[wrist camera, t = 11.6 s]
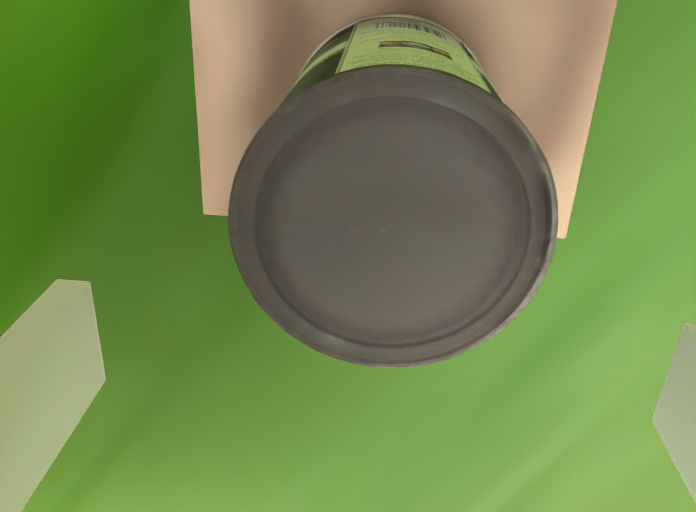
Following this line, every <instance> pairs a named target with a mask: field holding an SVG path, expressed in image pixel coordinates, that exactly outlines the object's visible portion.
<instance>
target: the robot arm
mask: <svg viewBox="0 0 696 512" xmlns="http://www.w3.org/2000/svg"><path fill="white" fill-rule="evenodd" d="M105 381H106V376H105V370H104V363H103V357H102V351H101V345H100V339H99V332H98V326H97V320H96V314H95V308H94V301H93V295H92V289H91V283H90V281H77V280H63V279H56V280H55V282H54V283H53V284H52V285H51V286H50V287H49V288H48V289H47V290H46V291H45V292H44V293H43V294H42V295H41V296H40V297H39V298H38V299H37V300H36V301H35V302H34V303H33V304H32V305H31V306H30V307H29V308H28V309H27V310H26V311H25V312H24V313H23V314H22V315H21V316H20V317H19V318H18V319H17V321H16V322H15V323H14V324H13V325H12V326H11V327H10V328H9V329H8V330H7V331H6V332H5V333H4V334H3V335H2V336H1V337H0V512H21V511H22V510H23V508H24V507H25V505H26V504H27V502H28V501H29V499H30V497H31V496H32V494H33V493H34V491H35V490H36V488H37V487H38V485H39V483H40V482H41V480H42V479H43V477H44V476H45V474H46V473H47V471H48V469H49V468H50V466H51V465H52V463H53V462H54V460H55V459H56V457H57V456H58V454H59V452H60V451H61V449H62V448H63V446H64V445H65V443H66V442H67V440H68V438H69V437H70V435H71V434H72V432H73V431H74V429H75V428H76V426H77V424H78V423H79V421H80V420H81V418H82V417H83V415H84V414H85V412H86V410H87V409H88V407H89V406H90V404H91V403H92V401H93V400H94V398H95V396H96V395H97V393H98V392H99V390H100V389H101V387H102V386H103V384H104V382H105ZM651 421H652V423H653V424H654V426H655V428H656V430H657V432H658V434H659V436H660V438H661V440H662V441H663V443H664V445H665V447H666V449H667V451H668V453H669V455H670V457H671V458H672V460H673V462H674V464H675V466H676V468H677V470H678V472H679V473H680V475H681V477H682V479H683V481H684V483H685V485H686V487H687V489H688V490H689V492H690V494H691V496H692V498H693V500H694V502H695V504H696V323H687V322H684V324H683V327H682V330H681V333H680V336H679V339H678V342H677V345H676V348H675V351H674V354H673V357H672V360H671V363H670V366H669V369H668V372H667V375H666V378H665V381H664V384H663V387H662V390H661V393H660V396H659V399H658V402H657V405H656V408H655V411H654V414H653V417H652V420H651Z"/></svg>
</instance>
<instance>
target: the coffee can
mask: <svg viewBox="0 0 696 512" xmlns="http://www.w3.org/2000/svg"><path fill="white" fill-rule="evenodd" d="M228 226H229V236H230V242H231V247H232V250H233V254H234V258H235V261H236V263H237V266H238V268H239V271H240V273H241V275H242V278H243V280H244V282H245V284H246V286H247V287H248V289H249V290H250V292H251V294H252V296H253V297H254V299H255V300H256V302H257V303H258V304H259V305H260V307H261V308H262V309H263V310H264V311H265V313H266V314H267V315H268V316H269V317H270V318H271V319H272V320H273V321H274V322H275V323H276V324H277V325H278V326H279V327H281V328H282V329H283V330H284V331H285V332H287V333H288V334H289V335H291V336H292V337H294V338H296V339H297V340H299V341H300V342H302V343H304V344H305V345H307V346H308V347H310V348H312V349H314V350H316V351H318V352H320V353H323V354H325V355H328V356H330V357H333V358H336V359H339V360H343V361H347V362H350V363H354V364H359V365H364V366H371V367H384V368H403V367H411V366H420V365H426V364H432V363H436V362H439V361H443V360H446V359H450V358H452V357H455V356H457V355H460V354H463V353H465V352H467V351H469V350H471V349H473V348H475V347H477V346H479V345H481V344H482V343H484V342H486V341H487V340H489V339H490V338H492V337H493V336H495V335H496V334H497V333H499V332H500V331H501V330H502V329H504V328H505V327H506V326H507V325H509V324H510V323H511V322H512V321H513V320H514V319H515V318H516V316H517V315H518V314H519V313H520V312H521V311H522V310H523V309H524V308H525V307H526V305H527V304H528V303H529V301H530V300H531V299H532V298H533V296H534V295H535V293H536V292H537V290H538V288H539V286H540V284H541V282H542V280H543V278H544V276H545V275H546V272H547V270H548V267H549V265H550V262H551V260H552V256H553V253H554V249H555V244H556V238H557V231H558V201H557V193H556V187H555V183H554V179H553V175H552V172H551V169H550V166H549V164H548V161H547V159H546V157H545V155H544V154H543V152H542V150H541V148H540V147H539V145H538V143H537V142H536V140H535V138H534V137H533V135H532V134H531V132H530V131H529V130H528V128H527V127H526V126H525V124H524V123H523V122H522V121H521V120H520V118H519V117H518V116H517V115H516V114H515V113H514V112H513V111H512V110H511V109H510V108H509V107H508V106H507V105H506V104H505V103H504V101H503V100H502V98H501V97H500V95H499V94H498V92H497V91H496V89H495V87H494V86H493V84H492V83H491V81H490V80H489V79H488V78H487V76H486V75H485V73H484V70H483V68H482V66H481V64H480V62H479V61H478V59H477V57H476V56H475V54H474V53H473V52H472V50H471V49H470V48H469V47H468V46H467V45H466V44H465V42H463V41H462V40H461V39H460V38H459V37H458V36H457V35H455V34H454V33H453V32H451V31H450V30H449V29H447V28H445V27H444V26H442V25H441V24H438V23H435V22H433V21H431V20H428V19H425V18H422V17H418V16H413V15H407V14H379V15H374V16H369V17H366V18H361V19H358V20H355V21H353V22H351V23H349V24H347V25H346V26H343V27H342V28H340V29H338V30H337V31H335V32H334V33H333V34H331V35H330V36H329V37H328V38H326V39H325V40H324V41H323V42H322V43H321V44H320V45H319V46H318V47H317V48H316V49H315V51H314V52H313V53H312V54H311V56H310V57H309V59H308V60H307V62H306V63H305V65H304V67H303V69H302V70H301V72H300V74H299V77H298V79H297V80H296V82H295V83H294V85H293V87H292V88H291V90H290V91H289V93H288V95H287V96H286V98H285V99H284V100H283V102H282V103H281V105H280V106H279V108H278V109H277V110H276V111H275V112H274V113H273V114H272V115H271V116H270V117H269V118H268V119H267V120H266V121H265V122H264V123H263V125H262V126H261V127H260V128H259V130H258V131H257V133H256V134H255V136H254V137H253V139H252V140H251V142H250V144H249V145H248V147H247V149H246V150H245V152H244V154H243V157H242V159H241V161H240V163H239V166H238V168H237V171H236V174H235V177H234V180H233V184H232V189H231V193H230V199H229V209H228Z"/></svg>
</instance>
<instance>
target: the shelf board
mask: <svg viewBox="0 0 696 512" xmlns="http://www.w3.org/2000/svg"><path fill="white" fill-rule="evenodd" d="M189 3H190V18H191V34H192V49H193V64H194V79H195V94H196V109H197V124H198V140H199V155H200V170H201V185H202V200H203V214H207V215H222V216H228V209H229V199H230V193H231V189H232V184H233V180H234V177H235V174H236V171H237V168H238V166H239V163H240V161H241V159H242V157H243V154H244V152H245V150H246V149H247V147H248V145H249V144H250V142H251V140H252V139H253V137H254V136H255V134H256V133H257V131H258V130H259V128H260V127H261V126H262V125H263V123H264V122H265V121H266V120H267V119H268V118H269V117H270V116H271V115H272V114H273V113H274V112H275V111H276V110H277V109H278V108H279V106H280V105H281V103H282V102H283V100H284V99H285V98H286V96H287V95H288V93H289V91H290V90H291V88H292V87H293V85H294V83H295V82H296V80H297V79H298V77H299V74H300V72H301V70H302V69H303V67H304V65H305V63H306V62H307V60H308V59H309V57H310V56H311V54H312V53H313V52H314V51H315V49H316V48H317V47H318V46H319V45H320V44H321V43H322V42H323V41H324V40H325V39H326V38H328V37H329V36H330V35H331V34H333V33H334V32H335V31H337V30H338V29H340V28H342V27H343V26H346V25H347V24H349V23H351V22H353V21H355V20H358V19H361V18H366V17H369V16H374V15H379V14H407V15H413V16H418V17H422V18H425V19H428V20H431V21H433V22H435V23H438V24H441V25H442V26H444V27H445V28H447V29H449V30H450V31H451V32H453V33H454V34H455V35H457V36H458V37H459V38H460V39H461V40H462V41H463V42H465V44H466V45H467V46H468V47H469V48H470V49H471V50H472V52H473V53H474V54H475V56H476V57H477V59H478V61H479V62H480V64H481V66H482V68H483V70H484V73H485V75H486V76H487V78H488V79H489V80H490V81H491V83H492V84H493V86H494V87H495V89H496V91H497V92H498V94H499V95H500V97H501V98H502V100H503V101H504V103H505V104H506V105H507V106H508V107H509V108H510V109H511V110H512V111H513V112H514V113H515V114H516V115H517V116H518V117H519V118H520V120H521V121H522V122H523V123H524V124H525V126H526V127H527V128H528V130H529V131H530V132H531V134H532V135H533V137H534V138H535V140H536V142H537V143H538V145H539V147H540V148H541V150H542V152H543V154H544V155H545V157H546V159H547V161H548V164H549V166H550V169H551V172H552V175H553V179H554V183H555V187H556V193H557V201H558V231H557V238H566V234H567V229H568V224H569V220H570V215H571V211H572V206H573V201H574V197H575V192H576V188H577V183H578V179H579V174H580V169H581V165H582V160H583V156H584V151H585V147H586V142H587V137H588V133H589V128H590V124H591V119H592V115H593V110H594V105H595V101H596V96H597V92H598V87H599V82H600V78H601V73H602V69H603V64H604V60H605V55H606V50H607V46H608V41H609V37H610V32H611V28H612V23H613V18H614V14H615V9H616V5H617V0H189Z"/></svg>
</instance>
